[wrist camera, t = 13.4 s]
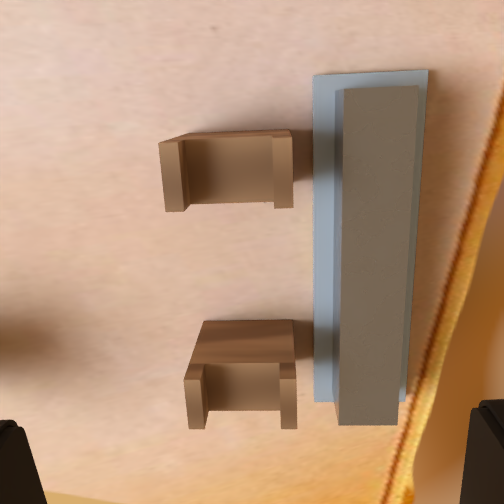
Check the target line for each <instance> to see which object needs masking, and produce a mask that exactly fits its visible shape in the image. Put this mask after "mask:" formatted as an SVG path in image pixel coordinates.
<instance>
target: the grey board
mask: <svg viewBox="0 0 504 504" xmlns="http://www.w3.org/2000/svg"><path fill="white" fill-rule="evenodd" d="M428 71H429V70H411V71H391V72H372V73H353V74H333V75H314V76H313V314H314V402H334V398H333V393H332V343H333V243H334V144H335V91H337V90H341V89H351V88H371V87H390V86H410V85H419V95H418V110H417V126H416V141H415V157H414V173H413V188H412V204H411V219H410V235H409V251H408V266H407V282H406V297H405V313H404V329H403V344H402V360H401V376H400V391H399V402H405V398H406V384H407V370H408V355H409V341H410V327H411V313H412V299H413V284H414V270H415V256H416V242H417V227H418V213H419V199H420V185H421V171H422V156H423V142H424V128H425V114H426V100H427V85H428Z"/></svg>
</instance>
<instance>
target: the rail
mask: <svg viewBox="0 0 504 504" xmlns="http://www.w3.org/2000/svg"><path fill="white" fill-rule="evenodd" d="M418 95H419V85H410V86H390V87H371V88H351V89H341V90H337V91H335V144H334V243H333V343H332V393H333V398H334V404H335V409H336V414H337V420H338V425H397V422H398V407H399V391H400V376H401V360H402V344H403V329H404V313H405V297H406V282H407V266H408V251H409V235H410V219H411V204H412V188H413V173H414V157H415V141H416V126H417V110H418Z"/></svg>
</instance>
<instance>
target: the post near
mask: <svg viewBox="0 0 504 504" xmlns="http://www.w3.org/2000/svg"><path fill="white" fill-rule="evenodd" d="M158 145H159V154H160V163H161V173H162V182H163V192H164V201H165V210H166V212H183V211H185V210H186V209H187V208H188V207H189V205H190V204H216V203H245V202H274V209H276V208H293V157H292V136H291V133H290V131H289V129H279V130H257V131H234V132H211V133H188V134H184V135H181V136H178V137H175V138H172V139H169V140H166V141H163V142H160V143H158Z"/></svg>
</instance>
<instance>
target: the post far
mask: <svg viewBox="0 0 504 504" xmlns="http://www.w3.org/2000/svg"><path fill="white" fill-rule="evenodd" d="M184 388H185V398H186V407H187V416H188V426H189V429H205V425H206V421H207V416H208V412H209V411H276V410H280V411H281V429H297V388H296V367H295V352H294V337H293V322H292V320H242V321H204V322H203V325H202V327H201V330H200V333H199V336H198V339H197V342H196V345H195V348H194V351H193V354H192V357H191V360H190V363H189V366H188V368H187V371H186V374H185V377H184Z"/></svg>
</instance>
